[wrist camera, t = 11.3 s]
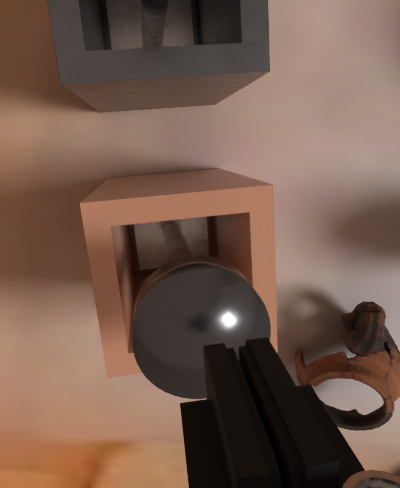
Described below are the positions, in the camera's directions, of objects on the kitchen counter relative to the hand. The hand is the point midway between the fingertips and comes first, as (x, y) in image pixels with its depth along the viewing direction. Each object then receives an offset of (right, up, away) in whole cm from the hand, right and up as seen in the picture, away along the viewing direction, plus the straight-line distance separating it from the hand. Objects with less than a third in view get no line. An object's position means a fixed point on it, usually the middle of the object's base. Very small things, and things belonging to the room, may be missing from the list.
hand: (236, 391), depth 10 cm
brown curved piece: (+13, -6, +28) cm, 31 cm away
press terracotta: (-3, +4, +23) cm, 23 cm away
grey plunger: (-3, +5, +21) cm, 22 cm away
